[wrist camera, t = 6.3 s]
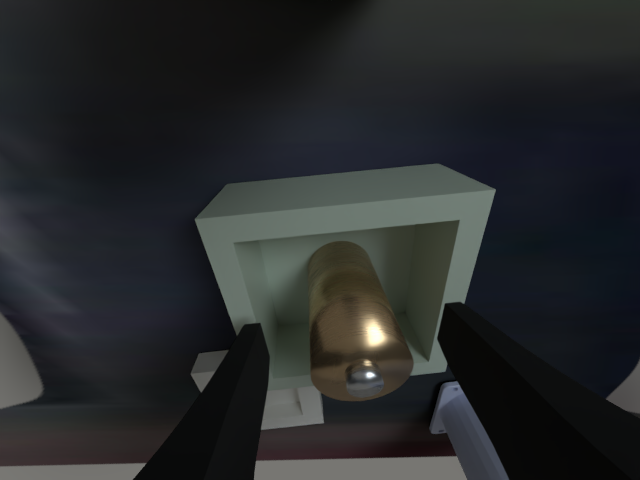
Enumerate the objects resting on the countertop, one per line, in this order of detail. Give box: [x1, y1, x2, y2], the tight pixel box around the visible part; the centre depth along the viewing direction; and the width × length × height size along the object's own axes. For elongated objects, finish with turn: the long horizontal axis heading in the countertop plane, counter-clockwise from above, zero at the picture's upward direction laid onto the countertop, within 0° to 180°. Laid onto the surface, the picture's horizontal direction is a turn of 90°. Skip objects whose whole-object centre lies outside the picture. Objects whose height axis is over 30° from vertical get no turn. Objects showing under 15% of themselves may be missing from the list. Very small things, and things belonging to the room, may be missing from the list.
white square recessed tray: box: [191, 350, 324, 430], centre depth 18 cm, size 8×8×2 cm
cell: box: [308, 241, 414, 401], centre depth 11 cm, size 4×4×6 cm
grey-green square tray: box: [195, 164, 496, 391], centre depth 12 cm, size 10×10×4 cm
